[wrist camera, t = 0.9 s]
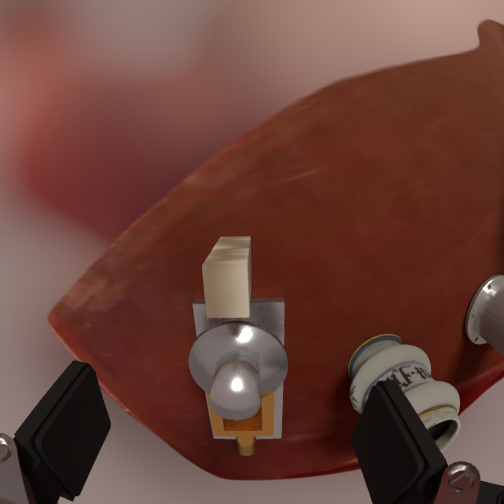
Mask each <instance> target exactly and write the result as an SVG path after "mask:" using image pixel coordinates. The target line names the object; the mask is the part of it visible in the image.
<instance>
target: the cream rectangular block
mask: <svg viewBox="0 0 504 504" xmlns="http://www.w3.org/2000/svg"><path fill="white" fill-rule="evenodd" d="M202 271H203V282H204V293H205V303H206V312H207V318H248V317H250V299H251V280H252V265H251V239H250V236H241V237H220V239H219V240H218V242H217V243H216V245H215V246H214V248H213V249H212V251H211V253H210V254H209V256H208V257H207V259H206V260H205V262H204V263H203V265H202Z"/></svg>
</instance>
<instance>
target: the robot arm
mask: <svg viewBox="0 0 504 504" xmlns="http://www.w3.org/2000/svg"><path fill="white" fill-rule="evenodd" d="M465 330H466V334H467V337H468V338H469V339H470V340H471V341H472V342H473V343H475V344H484V343H489V344H490V345H491V346H492V347H493V348H494V349H496V350H497V351H498V352H499V353H500V354H501V355H503V356H504V275H500V274H499V275H494V276H492V277H490V278H489V279H487V280H486V281H485V282H484V283H483V284H482V285H481V286H480V288H479V289H478V290H477V292H476V293H475V295H474V297H473V299H472V301H471V303H470V306H469V308H468V311H467V315H466V321H465ZM110 427H111V422H110V418H109V416H108V413H107V409H106V406H105V403H104V400H103V397H102V394H101V390H100V387H99V383H98V380H97V376H96V372H95V370H94V369H92V368H91V365H90V364H88V363H84V362H80V361H76V360H75V361H73V362H72V363H71V364H70V365H69V366H68V367H67V369H66V370H65V371H64V372H63V373H62V374H61V376H60V377H59V378H58V379H57V381H56V382H55V383H54V384H53V385H52V387H51V388H50V389H49V390H48V391H47V393H46V394H45V395H44V397H43V398H42V399H41V400H40V401H39V403H38V404H37V405H36V407H35V408H34V409H33V410H32V412H31V413H30V414H29V416H28V417H27V418H26V420H25V421H24V422H23V423H22V425H21V426H20V427H19V429H18V430H17V431H16V433H15V434H14V435H15V437H14V439H12V438H11V437H10V436H8V435H6V434H4V433H0V504H58V500H59V498H60V496H61V497H63V498H66V499H68V500H70V501H73V500H74V498H75V496H79V495H80V493H81V491H82V489H83V486H84V484H85V482H86V480H87V478H88V475H89V473H90V471H91V469H92V466H93V464H94V462H95V460H96V458H97V456H98V454H99V451H100V449H101V447H102V445H103V443H104V441H105V439H106V437H107V435H108V432H109V430H110ZM352 445H353V448H354V451H355V453H356V456H357V459H358V462H359V465H360V468H361V470H362V473H363V476H364V479H365V482H366V485H367V488H368V491H369V494H370V497H371V500H372V503H373V504H504V486H501V485H497V484H492V483H488V482H484V481H480V474H479V471H478V470H477V468H476V467H475V466H474V465H472V464H471V463H468V462H463V461H459V462H454V463H452V464H450V465H449V466H448V465H447V463H446V462H447V461H446V459H445V458H444V456H443V455H442V453H441V451H440V449H439V448H438V446H437V445H436V443H435V441H434V440H433V438H432V436H431V435H430V433H429V432H428V430H427V428H426V427H425V425H424V424H423V422H422V420H421V419H420V417H419V416H418V414H417V413H416V411H415V409H414V408H413V406H412V405H411V403H410V402H409V400H408V399H407V397H406V396H405V394H404V392H403V391H402V389H401V388H400V386H399V385H398V383H397V382H396V381H395V380H393V379H391V380H383V381H378V382H377V383H376V385H374V386H373V387H372V388H371V391H370V393H369V396H368V399H367V401H366V404H365V406H364V409H363V411H362V414H361V416H360V419H359V421H358V424H357V426H356V428H355V431H354V433H353V435H352Z"/></svg>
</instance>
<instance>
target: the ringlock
mask: <svg viewBox="0 0 504 504" xmlns="http://www.w3.org/2000/svg"><path fill="white" fill-rule="evenodd" d="M193 311H194V319H195V327H196V334H197V338H196V340H195V342H194V344H193V346H192V348H191V351H190V355H189V368H190V372H191V374H192V377H193V378H194V380H195V382H196V383H197V384H198V385H199V386H200V387H201V388H202V389H203V390H204V391H205V393H206V399H207V405H208V410H209V416H210V421H211V426H212V431H213V436H214V438H217V439H236V444H237V451H238V453H239V454H241V455H243V456H250V455H253V454H254V453H255V452H256V439H273V438H281V431H282V405H283V381H284V379H285V377H286V374H287V370H288V360H287V355H286V351H285V348H284V299H283V297H279V298H251V299H250V317H248V318H207V312H206V303H205V299H195V300H194V302H193Z"/></svg>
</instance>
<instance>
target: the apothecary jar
mask: <svg viewBox="0 0 504 504" xmlns="http://www.w3.org/2000/svg"><path fill="white" fill-rule="evenodd" d="M430 374H431V366H430V361H429V359H428V357H427V355H426V354H425V353H424V352H423V351H422V350H421V349H419V348H418V347H415V346H412V345H404V344H403V343H402V339H401V338H400V337H399V336H397V335H393V334H383V335H378V336H375V337H373V338H371V339H369V340H367V341H366V342H364V343H363V344H362V345H361V346H360V347H359V348H358V349H357V350H356V351H355V352H354V354H353V355H352V357H351V359H350V361H349V365H348V375H349V378H350V380H351V381H352V384H351V387H350V400H351V404H352V406H353V408H354V409H355V410H356V411H357V412H358V413H359V414H362V411H363V409H364V406H365V404H366V401H367V399H368V396H369V393H370V391H371V388H372V387H373V386H374V385H376V383H377V382H378V381H383V380H391V379H393V380H395V381H396V382H397V383H398V385H399V386H400V388H401V389H402V391H403V392H404V394H405V396H406V397H407V399H408V400H409V402H410V403H411V405H412V406H413V408H414V409H415V411H416V413H417V414H418V416H419V417H420V419H421V420H422V422H423V424H424V425H425V427H426V428H427V430H428V432H429V433H430V435H431V436H432V438H433V440H434V441H435V443H436V445H437V446H438V448H439V449H440V451H441V453H442V452H443V451H444V450H445V449H446V448H447V447H448V446H449V445H450V444H451V443H452V442H453V440H454V439H455V438H456V436H457V434H458V432H459V430H460V425H461V423H460V419H459V417H458V412H459V408H460V398H459V394H458V392H457V390H456V389H455V388H454V387H453V386H452V385H450V384H448V383H445V382H440V381H435V380H434V379H433V377H432V376H431V375H430Z"/></svg>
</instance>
